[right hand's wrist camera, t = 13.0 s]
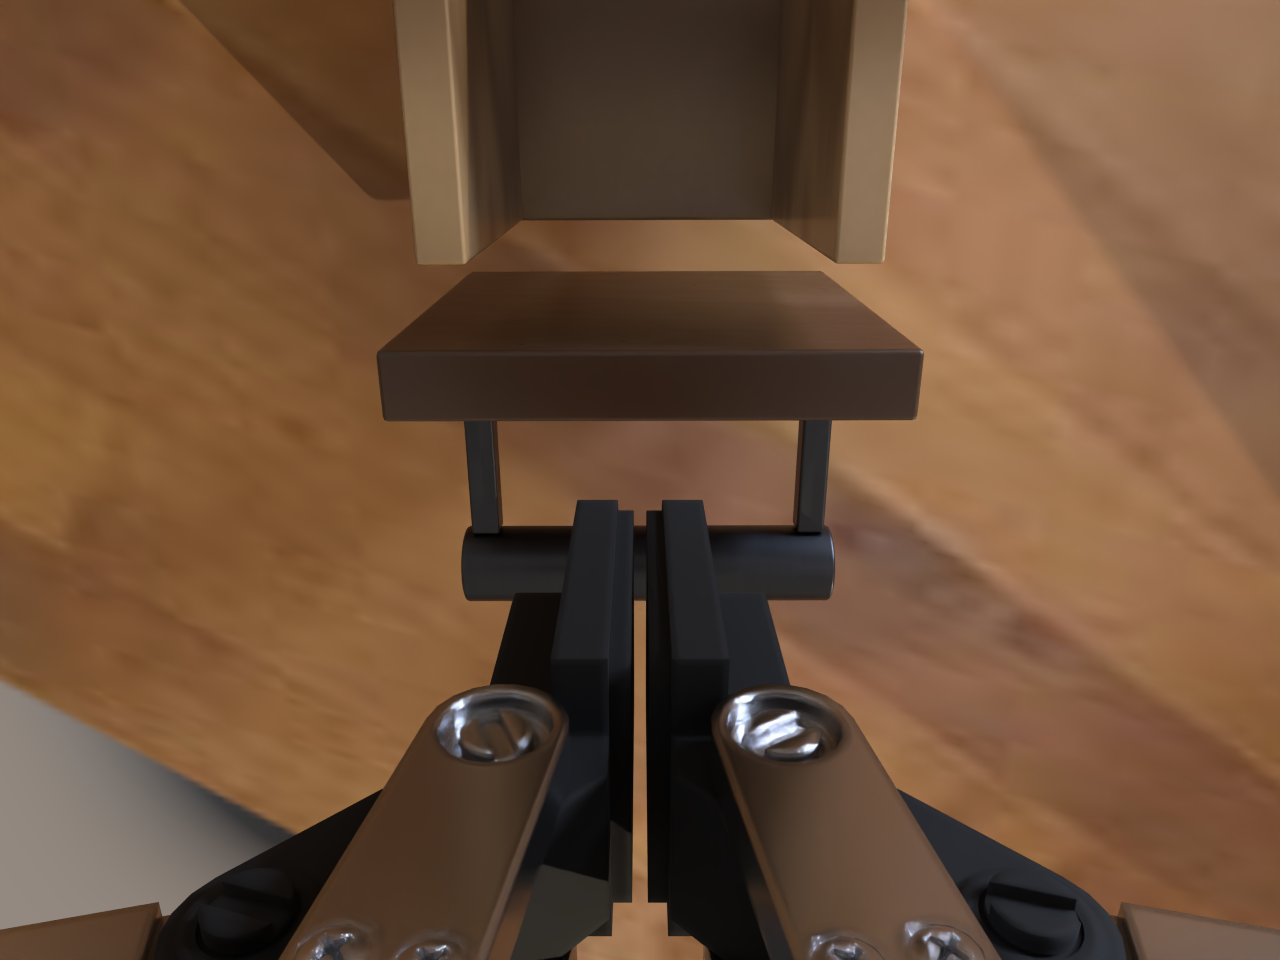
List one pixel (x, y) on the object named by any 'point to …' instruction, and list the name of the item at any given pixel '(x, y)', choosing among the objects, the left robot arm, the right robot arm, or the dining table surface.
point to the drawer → (650, 190)
